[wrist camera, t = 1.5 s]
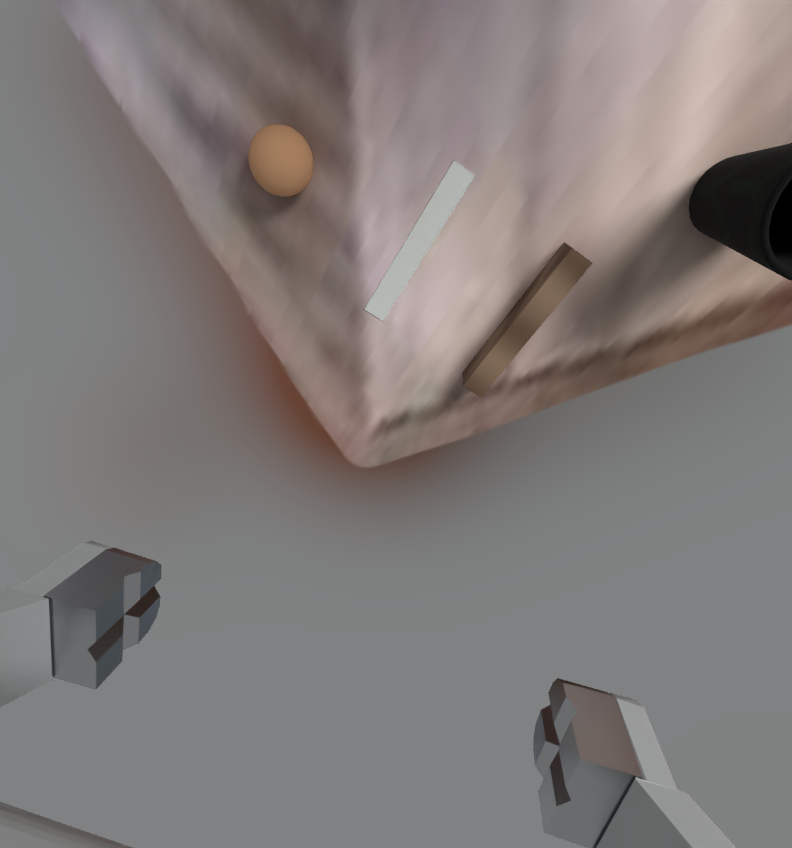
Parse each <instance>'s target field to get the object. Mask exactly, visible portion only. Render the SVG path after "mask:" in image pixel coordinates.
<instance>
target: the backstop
mask: <svg viewBox="0 0 792 848" xmlns="http://www.w3.org/2000/svg"><path fill="white" fill-rule="evenodd" d="M591 264H592V262H590V261H589V260H588V259H586V258H585V257H584V256H582V255H581V254H580V253H578V252H577V251H575V250H574V249H573V248H571V247H570V246H569V245H567V244H566V243H564V244H563V245H562V246H561V247H560V249H559V250H558V251H557V253H556V254H555V255H554V256H553V258H552V259H551V260H550V262H549V263H548V264H547V265H546V267H545V268H544V269H543V271H542V272H541V273H540V274H539V276H538V277H537V278H536V280H535V281H534V282H533V283H532V285H531V286H530V287H529V289H528V290H527V291H526V292H525V294H524V295H523V296H522V297H521V299H520V300H519V301H518V303H517V304H516V305H515V306H514V308H513V309H512V310H511V312H510V313H509V314H508V315H507V317H506V318H505V319H504V321H503V322H502V323H501V324H500V326H499V327H498V328H497V330H496V331H495V332H494V333H493V335H492V336H491V337H490V339H489V340H488V341H487V342H486V344H485V345H484V346H483V347H482V349H481V350H480V351H479V353H478V354H477V355H476V356H475V358H474V359H473V360H472V362H471V363H470V364H469V365H468V367H467V368H466V369H465V371H464V372H463V386H464V387H465V388H467V389H469V390H470V391H472V392H473V393H475V394H476V395H478V396H479V397H482V396H483V394H484V393H485V392H486V391H487V389H488V388H489V387H490V386H491V385H492V383H493V382H494V381H495V380H496V379H497V377H498V376H499V375H500V374H501V373H502V371H503V370H504V369H505V368H506V367H507V365H508V364H509V363H510V362H511V361H512V359H513V358H514V357H515V356H516V355H517V353H518V352H519V351H520V350H521V349H522V347H523V346H524V345H525V344H526V343H527V341H528V340H529V339H530V338H531V337H532V335H533V334H534V333H535V332H536V330H537V329H538V328H539V327H540V326H541V324H542V323H543V322H544V321H545V320H546V318H547V317H548V316H549V315H550V314H551V312H552V311H553V310H554V309H555V308H556V306H557V305H558V304H559V303H560V302H561V300H562V299H563V298H564V297H565V296H566V294H567V293H568V292H569V291H570V290H571V288H572V287H573V286H574V285H575V284H576V282H577V281H578V280H579V279H580V278H581V276H582V275H583V274H584V273H585V271H586V270H587V269H588V268H589V267H590V265H591Z"/></svg>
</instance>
